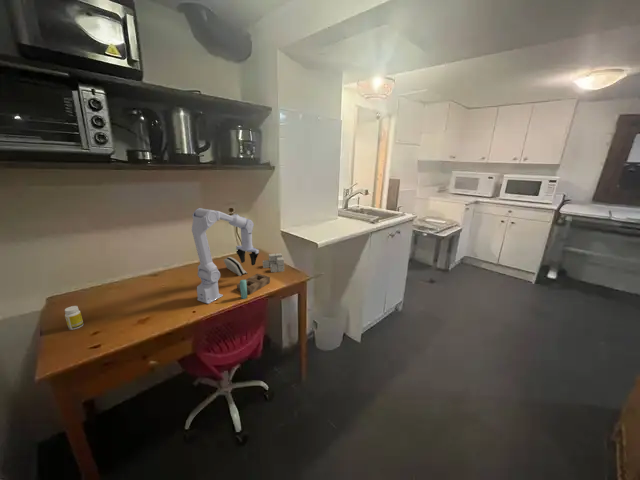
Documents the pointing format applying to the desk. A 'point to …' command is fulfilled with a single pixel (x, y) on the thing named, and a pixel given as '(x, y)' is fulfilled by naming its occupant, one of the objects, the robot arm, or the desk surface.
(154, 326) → the desk surface
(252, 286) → the hole block
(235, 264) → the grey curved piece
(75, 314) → the supplement bottle
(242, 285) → the peg
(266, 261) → the puzzle cube
